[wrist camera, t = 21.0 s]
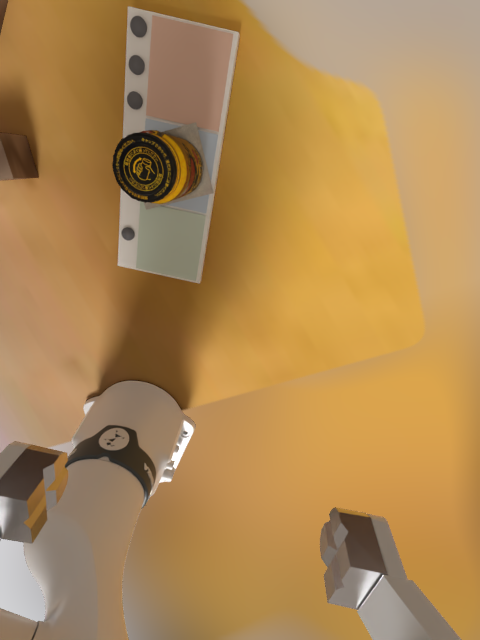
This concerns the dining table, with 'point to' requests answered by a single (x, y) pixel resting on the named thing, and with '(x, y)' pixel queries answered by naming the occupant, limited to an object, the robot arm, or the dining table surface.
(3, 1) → the walnut block
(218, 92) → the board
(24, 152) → the walnut block
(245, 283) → the dining table surface
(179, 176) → the condiment
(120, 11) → the dining table surface
